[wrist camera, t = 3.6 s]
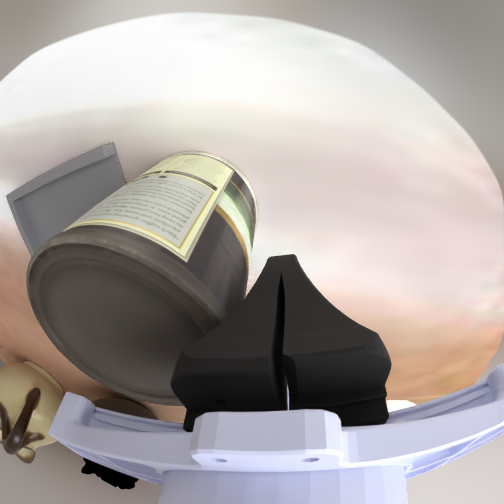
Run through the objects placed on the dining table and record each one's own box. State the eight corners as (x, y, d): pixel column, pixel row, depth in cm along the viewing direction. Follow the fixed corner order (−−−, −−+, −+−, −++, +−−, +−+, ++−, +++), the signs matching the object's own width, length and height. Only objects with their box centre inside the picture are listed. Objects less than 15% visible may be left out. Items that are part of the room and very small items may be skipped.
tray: (165, 288, 26) (160, 300, 25) (64, 295, 29) (57, 303, 27) (113, 141, 19) (102, 146, 17) (15, 189, 21) (5, 195, 20)
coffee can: (285, 210, 21) (296, 363, 9) (205, 282, 26) (162, 419, 14) (186, 122, 18) (51, 174, 6) (120, 214, 22) (19, 321, 10)
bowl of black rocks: (183, 399, 39) (159, 500, 23) (182, 434, 49) (167, 505, 33) (78, 363, 38) (39, 447, 22) (102, 407, 48) (78, 472, 32)
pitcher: (33, 383, 52) (3, 446, 31) (-4, 329, 40) (-49, 403, 19) (91, 411, 53) (65, 487, 31) (57, 361, 40) (10, 459, 19)
